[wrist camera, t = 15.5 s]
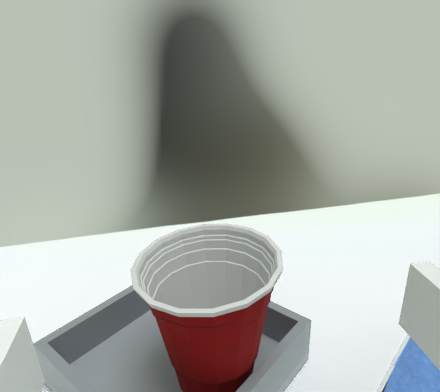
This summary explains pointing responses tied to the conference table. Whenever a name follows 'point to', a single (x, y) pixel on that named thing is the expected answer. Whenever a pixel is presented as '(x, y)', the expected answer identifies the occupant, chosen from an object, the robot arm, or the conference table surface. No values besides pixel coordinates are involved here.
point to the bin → (155, 351)
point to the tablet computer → (411, 371)
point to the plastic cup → (209, 300)
